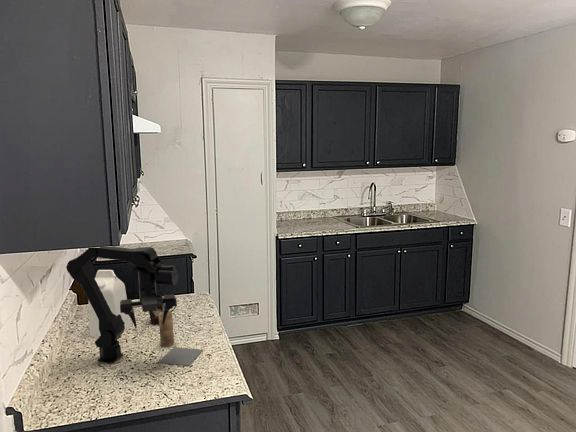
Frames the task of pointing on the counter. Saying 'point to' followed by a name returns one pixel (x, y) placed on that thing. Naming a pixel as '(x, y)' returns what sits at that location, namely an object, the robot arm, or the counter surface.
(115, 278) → the milk
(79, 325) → the counter surface
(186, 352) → the mat
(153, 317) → the coffee mug
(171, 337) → the pepper mill
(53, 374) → the counter surface
